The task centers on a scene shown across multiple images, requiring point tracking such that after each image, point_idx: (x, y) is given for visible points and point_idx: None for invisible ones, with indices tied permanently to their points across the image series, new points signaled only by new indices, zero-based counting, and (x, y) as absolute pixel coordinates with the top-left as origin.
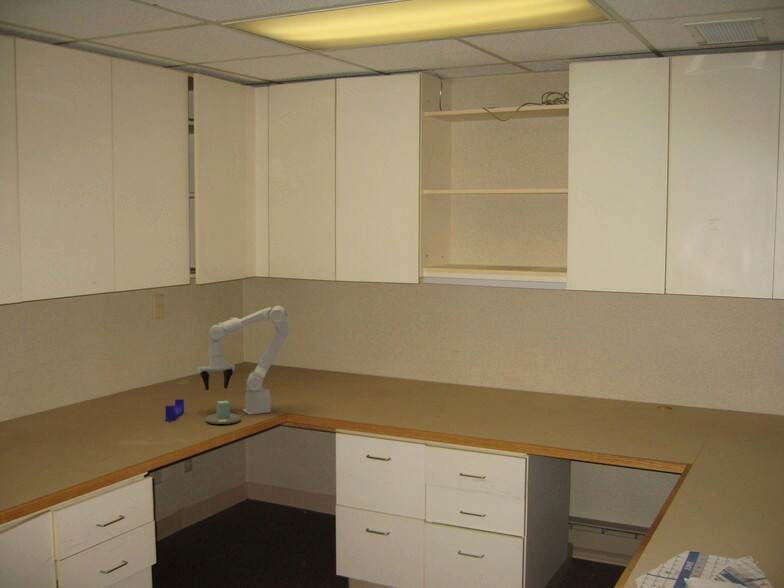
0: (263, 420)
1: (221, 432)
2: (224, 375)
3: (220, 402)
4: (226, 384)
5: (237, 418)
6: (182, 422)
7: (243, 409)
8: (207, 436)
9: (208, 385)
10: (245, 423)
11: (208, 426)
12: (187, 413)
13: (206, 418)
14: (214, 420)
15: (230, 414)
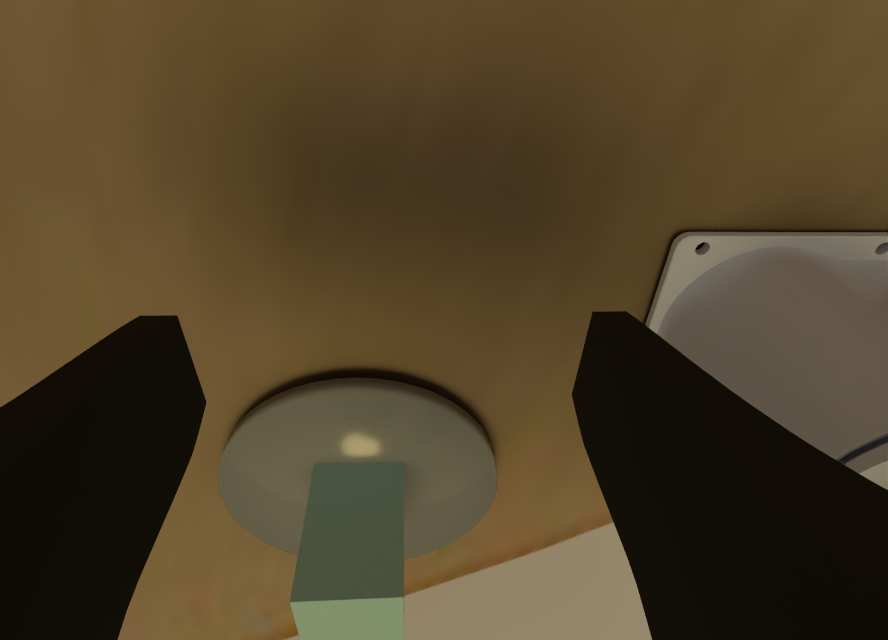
0: None
1: None
2: (768, 604)
3: (320, 630)
4: (606, 481)
5: (449, 532)
6: (14, 398)
7: (682, 255)
8: (209, 634)
9: (164, 510)
10: (484, 532)
11: (235, 524)
12: (10, 72)
13: (222, 478)
14: (277, 529)
15: (446, 444)
